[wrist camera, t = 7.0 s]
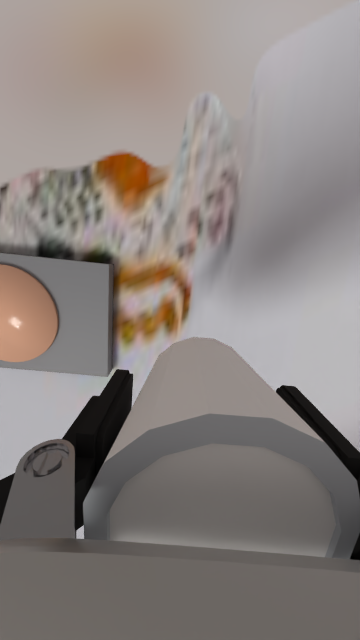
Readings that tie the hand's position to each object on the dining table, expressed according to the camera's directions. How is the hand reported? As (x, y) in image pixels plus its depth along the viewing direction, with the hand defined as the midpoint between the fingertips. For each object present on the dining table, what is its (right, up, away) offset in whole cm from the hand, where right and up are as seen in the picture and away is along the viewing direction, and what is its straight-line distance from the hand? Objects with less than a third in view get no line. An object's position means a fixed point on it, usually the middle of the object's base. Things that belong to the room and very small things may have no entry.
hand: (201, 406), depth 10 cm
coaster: (-18, +5, +11) cm, 22 cm away
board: (-17, +5, +13) cm, 22 cm away
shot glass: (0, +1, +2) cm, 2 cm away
